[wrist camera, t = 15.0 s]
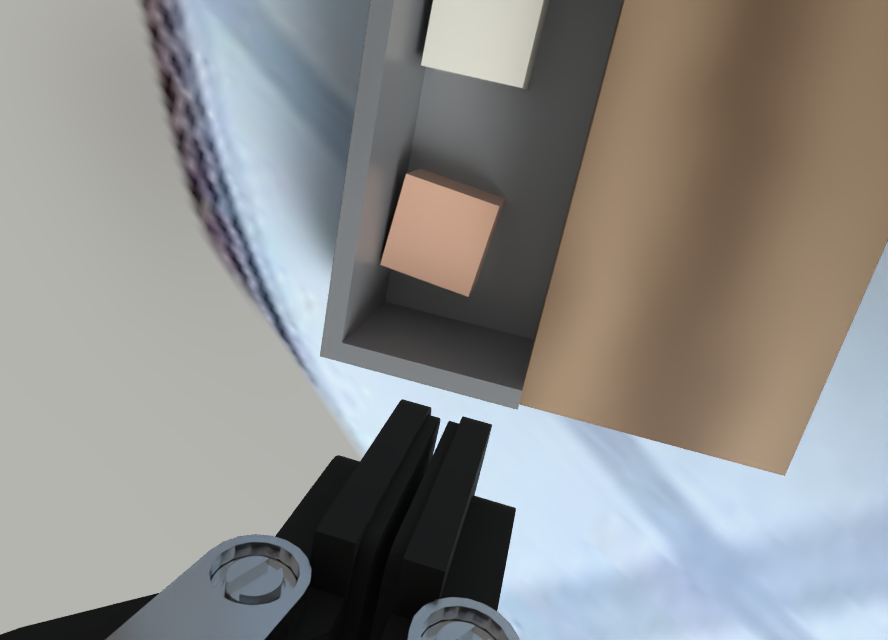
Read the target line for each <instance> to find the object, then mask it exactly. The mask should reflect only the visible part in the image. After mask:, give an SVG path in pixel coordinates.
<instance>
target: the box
mask: <svg viewBox="0 0 888 640" xmlns="http://www.w3.org/2000/svg"><path fill="white" fill-rule="evenodd" d="M621 3H622V0H550V1H549V5H548V10H547V14H546V18H545V22H544V26H543V30H542V34H541V38H540V42H539V47H538V51H537V55H536V59H535V63H534V67H533V71H532V75H531V79H530V84H529V88H528V90H524V89H520V88H515V87H511V86H506V85H502V84H498V83H493V82H489V81H484V80H480V79H475V78H471V77H466V76H462V75H458V74H453V73H449V72H444V71H440V70H435V69H432V68H429V67H425V66H422V65H421V62H422V57H423V52H424V46H425V41H426V36H427V30H428V25H429V20H430V14H431V9H432V4H433V0H370V5H369V12H368V19H367V26H366V33H365V40H364V48H363V55H362V62H361V69H360V76H359V83H358V90H357V97H356V104H355V111H354V118H353V125H352V133H351V140H350V147H349V154H348V161H347V168H346V175H345V182H344V189H343V196H342V203H341V210H340V217H339V225H338V232H337V239H336V246H335V253H334V260H333V267H332V274H331V281H330V288H329V295H328V302H327V310H326V317H325V324H324V331H323V338H322V345H321V352H320V356H321V357H325V358H329V359H332V360H336V361H340V362H344V363H347V364H351V365H355V366H358V367H362V368H366V369H369V370H373V371H377V372H380V373H384V374H388V375H392V376H395V377H399V378H403V379H406V380H410V381H414V382H417V383H421V384H425V385H429V386H432V387H436V388H440V389H443V390H447V391H451V392H454V393H458V394H462V395H465V396H469V397H473V398H477V399H480V400H484V401H488V402H491V403H495V404H499V405H502V406H506V407H510V408H513V409H517V410H518V406H519V402H520V398H521V394H522V390H523V386H524V381H525V377H526V372H527V368H528V363H529V358H530V354H531V349H532V345H533V340H534V336H535V332H536V329H537V325H538V321H539V317H540V313H541V309H542V306H543V302H544V298H545V294H546V290H547V287H548V283H549V279H550V275H551V271H552V267H553V264H554V260H555V256H556V252H557V248H558V244H559V241H560V237H561V233H562V229H563V225H564V221H565V218H566V214H567V210H568V206H569V202H570V198H571V195H572V191H573V187H574V183H575V179H576V176H577V172H578V168H579V164H580V160H581V156H582V153H583V149H584V145H585V141H586V137H587V133H588V130H589V126H590V122H591V118H592V114H593V110H594V107H595V103H596V99H597V95H598V91H599V87H600V84H601V80H602V76H603V72H604V68H605V64H606V61H607V57H608V53H609V49H610V45H611V42H612V38H613V34H614V30H615V26H616V22H617V19H618V15H619V11H620V7H621ZM418 169H423V170H426V171H429V172H432V173H435V174H437V175H440V176H443V177H446V178H449V179H452V180H455V181H457V182H460V183H463V184H466V185H469V186H472V187H475V188H477V189H480V190H483V191H486V192H489V193H492V194H495V195H497V196H500V197H503V198H506V201H505V204H504V207H503V210H502V213H501V216H500V218H499V221H498V224H497V227H496V230H495V233H494V236H493V239H492V242H491V245H490V247H489V250H488V253H487V256H486V259H485V262H484V265H483V268H482V271H481V273H480V276H479V279H478V282H477V284H476V285H475V287H474V289H473V290H472V292H471V293H470V295H469V297H467V296H464V295H462V294H459V293H456V292H453V291H451V290H448V289H445V288H442V287H440V286H437V285H434V284H432V283H429V282H426V281H423V280H421V279H418V278H415V277H412V276H410V275H407V274H404V273H402V272H399V271H396V270H393V269H391V268H388V267H385V266H382V265H380V264H381V260H382V257H383V253H384V249H385V246H386V242H387V239H388V235H389V232H390V228H391V225H392V221H393V218H394V214H395V211H396V207H397V204H398V200H399V197H400V193H401V190H402V186H403V183H404V179H405V176H406V174H407V173H409V172H412V171H415V170H418Z"/></svg>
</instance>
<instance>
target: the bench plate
mask: <svg viewBox="0 0 888 640" xmlns="http://www.w3.org/2000/svg"><path fill="white" fill-rule="evenodd" d="M887 241H888V0H622V3H621V7H620V11H619V15H618V19H617V22H616V26H615V30H614V34H613V38H612V42H611V45H610V49H609V53H608V57H607V61H606V64H605V68H604V72H603V76H602V80H601V84H600V87H599V91H598V95H597V99H596V103H595V107H594V110H593V114H592V118H591V122H590V126H589V130H588V133H587V137H586V141H585V145H584V149H583V153H582V156H581V160H580V164H579V168H578V172H577V176H576V179H575V183H574V187H573V191H572V195H571V198H570V202H569V206H568V210H567V214H566V218H565V221H564V225H563V229H562V233H561V237H560V241H559V244H558V248H557V252H556V256H555V260H554V264H553V267H552V271H551V275H550V279H549V283H548V287H547V290H546V294H545V298H544V302H543V306H542V309H541V313H540V317H539V321H538V325H537V329H536V332H535V336H534V340H533V345H532V349H531V354H530V358H529V363H528V368H527V372H526V377H525V381H524V386H523V390H522V394H521V398H520V402H519V404H520V405H524V406H528V407H531V408H535V409H539V410H543V411H546V412H550V413H554V414H557V415H561V416H565V417H569V418H572V419H576V420H580V421H583V422H587V423H591V424H595V425H598V426H602V427H606V428H609V429H613V430H617V431H621V432H624V433H628V434H632V435H635V436H639V437H643V438H646V439H650V440H654V441H658V442H661V443H665V444H669V445H672V446H676V447H680V448H684V449H687V450H691V451H695V452H698V453H702V454H706V455H710V456H713V457H717V458H721V459H724V460H728V461H732V462H736V463H739V464H743V465H747V466H750V467H754V468H758V469H762V470H765V471H769V472H773V473H776V474H780V475H784V476H785V474H786V472H787V469H788V467H789V465H790V463H791V460H792V458H793V456H794V453H795V451H796V449H797V447H798V444H799V442H800V440H801V438H802V435H803V433H804V431H805V428H806V426H807V424H808V422H809V419H810V417H811V415H812V412H813V410H814V408H815V406H816V403H817V401H818V399H819V396H820V394H821V392H822V390H823V387H824V385H825V383H826V380H827V378H828V376H829V374H830V371H831V369H832V367H833V364H834V362H835V360H836V358H837V355H838V353H839V351H840V348H841V346H842V344H843V342H844V339H845V337H846V335H847V332H848V330H849V328H850V326H851V323H852V321H853V319H854V316H855V314H856V312H857V310H858V307H859V305H860V303H861V300H862V298H863V296H864V294H865V291H866V289H867V287H868V284H869V282H870V280H871V278H872V275H873V273H874V271H875V268H876V266H877V264H878V262H879V259H880V257H881V255H882V252H883V250H884V248H885V246H886V243H887Z"/></svg>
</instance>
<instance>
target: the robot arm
mask: <svg viewBox="0 0 888 640" xmlns="http://www.w3.org/2000/svg"><path fill="white" fill-rule="evenodd" d="M439 425H440V418H437V417H434V416H431V407H428V406H424V405H421V404H417V403H413V402H410V401H406V400H403V399H402V400H401V401H400V402H399V404H398V405H397V407H396V408H395V410H394V411H393V413H392V414H391V416H390V417H389V419H388V420H387V422H386V423H385V425H384V426H383V428H382V429H381V431H380V432H379V434H378V436H377V437H376V439H375V440H374V442H373V443H372V445H371V446H370V448H369V449H368V451H367V452H366V454H365V455H364V457H363V458H362V460H361V461H360V462H359V461H356V460H353V459H349V458H346V457H343V456H339V455H338V456H335V457H334V459H333V460H332V461H331V462H330V464H329V465H328V466H327V467H326V469H325V470H324V472H323V473H322V474H321V476H320V477H319V478H318V480H317V481H316V482H315V484H314V485H313V486H312V488H311V489H310V490H309V492H308V493H307V494H306V496H305V497H304V498H303V500H302V501H301V502H300V504H299V505H298V507H297V508H296V509H295V511H294V512H293V513H292V515H291V516H290V517H289V519H288V520H287V521H286V523H285V524H284V525H283V527H282V528H281V529H280V531H279V532H278V533H277V535H276V536H275V537H274V536H269V535H257V534H255V535H246V536H238V537H236V538H233V539H230V540H227V541H224V542H222V543H221V544H219V545H217V546H216V547H214V548H213V549H211V550H210V551H208V552H207V553H206V554H205V555H204V556H203V557H202V558H200V559H199V560H198V561H197V562H196V563H194V564H193V565H192V566H191V567H190V568H189V569H187V570H186V571H185V572H184V573H183V574H182V575H180V576H179V577H178V578H177V579H176V580H175V581H174V582H172V583H171V584H170V585H169V586H167V587H166V588H165V589H164V590H163V591H162V592H160V593H157V594H153V595H149V596H145V597H141V598H137V599H133V600H129V601H125V602H121V603H117V604H113V605H109V606H105V607H101V608H97V609H94V610H90V611H85V612H81V613H77V614H74V615H69V616H65V617H61V618H57V619H53V620H49V621H46V622H41V623H37V624H33V625H29V626H25V627H22V628H18V629H16V630H13V631H10V632H7V633H4V634H1V635H0V640H520V639H519V637H518V635H517V634H516V632H515V630H514V629H513V627H512V625H511V624H510V623H509V622H508V621H507V620H506V619H505V618H504V617H503V616H502V615H501V614H500V613H499V612H497V609H498V604H499V598H500V593H501V587H502V582H503V577H504V571H505V566H506V560H507V555H508V550H509V544H510V539H511V533H512V528H513V523H514V517H515V511H516V508H514V507H510V506H507V505H504V504H500V503H497V502H493V501H490V500H487V499H483V498H480V497H477V496H474V495H475V491H476V487H477V483H478V479H479V475H480V471H481V467H482V463H483V459H484V455H485V451H486V447H487V443H488V439H489V435H490V431H491V427H492V425H491V424H488V423H484V422H481V421H477V420H474V419H470V418H467V417H462V419H461V421H460V424H458V423H455V422H451V421H449V422H448V424H447V426H446V428H445V430H444V433H443V435H442V437H441V439H440V441H439V444H438V446H437V448H436V450H435V452H434V448H435V443H436V439H437V434H438V430H439ZM433 452H434V454H433Z"/></svg>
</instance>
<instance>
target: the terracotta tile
mask: <svg viewBox="0 0 888 640" xmlns="http://www.w3.org/2000/svg"><path fill="white" fill-rule="evenodd" d="M505 201H506V198H503V197H500V196H497V195H495V194H492V193H489V192H486V191H483V190H480V189H477V188H475V187H472V186H469V185H466V184H463V183H460V182H457V181H455V180H452V179H449V178H446V177H443V176H440V175H437V174H435V173H432V172H429V171H426V170H423V169H418V170H415V171H412V172H409V173H407V174H406V176H405V179H404V183H403V186H402V190H401V193H400V197H399V200H398V204H397V207H396V211H395V214H394V218H393V221H392V225H391V228H390V232H389V235H388V239H387V242H386V246H385V249H384V253H383V257H382V260H381V264H380V265H382V266H385V267H388V268H391V269H393V270H396V271H399V272H402V273H404V274H407V275H410V276H412V277H415V278H418V279H421V280H423V281H426V282H429V283H432V284H434V285H437V286H440V287H442V288H445V289H448V290H451V291H453V292H456V293H459V294H462V295H464V296H467V297H469V295H470V293H471V292H472V290H473V289H474V287H475V285H476V284H477V282H478V279H479V276H480V273H481V271H482V268H483V265H484V262H485V259H486V256H487V253H488V250H489V247H490V245H491V242H492V239H493V236H494V233H495V230H496V227H497V224H498V221H499V218H500V216H501V213H502V210H503V207H504V204H505Z"/></svg>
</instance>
